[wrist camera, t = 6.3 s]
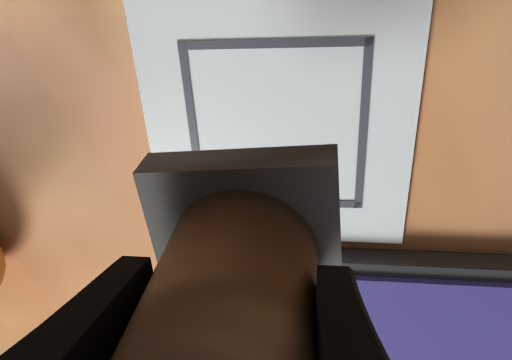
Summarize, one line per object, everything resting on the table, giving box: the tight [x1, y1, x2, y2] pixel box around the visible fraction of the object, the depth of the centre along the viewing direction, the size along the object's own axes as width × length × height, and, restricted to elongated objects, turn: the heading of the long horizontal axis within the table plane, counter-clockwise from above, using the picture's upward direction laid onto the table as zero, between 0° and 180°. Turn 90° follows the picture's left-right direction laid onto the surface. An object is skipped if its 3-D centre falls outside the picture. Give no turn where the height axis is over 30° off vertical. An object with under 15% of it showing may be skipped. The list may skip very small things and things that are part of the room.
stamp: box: [111, 144, 342, 360], centre depth 9 cm, size 4×4×6 cm
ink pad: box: [341, 248, 512, 360], centre depth 20 cm, size 10×7×1 cm
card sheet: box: [123, 0, 433, 244], centre depth 17 cm, size 10×10×1 cm
